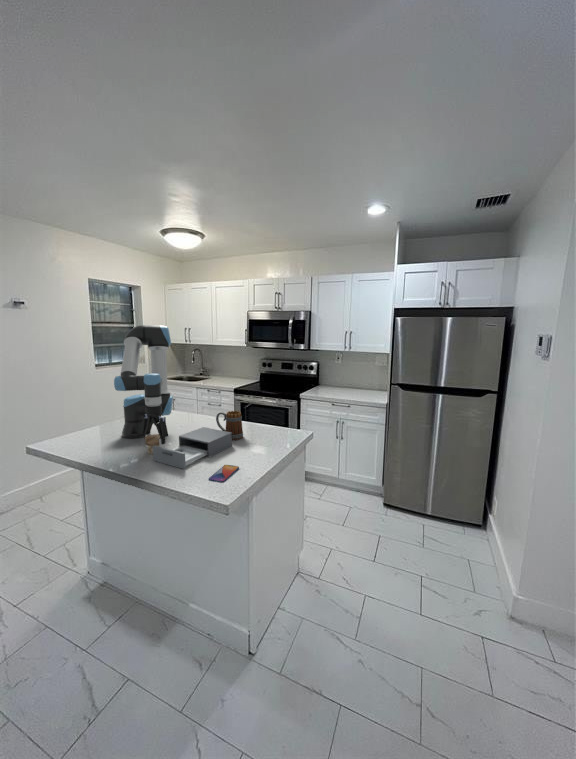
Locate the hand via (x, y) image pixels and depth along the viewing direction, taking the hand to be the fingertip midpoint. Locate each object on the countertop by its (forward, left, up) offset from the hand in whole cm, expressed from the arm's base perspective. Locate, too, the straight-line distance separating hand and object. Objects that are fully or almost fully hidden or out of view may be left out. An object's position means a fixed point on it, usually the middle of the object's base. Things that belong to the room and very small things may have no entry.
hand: (155, 448), depth 160 cm
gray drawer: (+18, 0, -2) cm, 18 cm away
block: (0, 0, -2) cm, 2 cm away
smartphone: (+46, -3, -3) cm, 46 cm away
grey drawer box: (+18, +17, -2) cm, 25 cm away
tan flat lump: (0, 0, +3) cm, 3 cm away
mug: (+18, +37, -2) cm, 41 cm away
